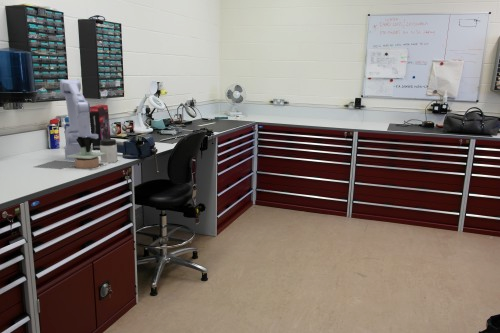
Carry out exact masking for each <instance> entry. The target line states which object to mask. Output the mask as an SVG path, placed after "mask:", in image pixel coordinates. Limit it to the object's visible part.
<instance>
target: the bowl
mask: <svg viewBox="0 0 500 333" xmlns="http://www.w3.org/2000/svg"><path fill="white" fill-rule="evenodd" d="M99 159H100V158H99V156H98V157H95V158H92V159H84V158H75V160H74V162H75V165H74V167H75V168H76V169H77V168H79V169H80V168H81V169H90V168H91V169H95V168H97V167H100V160H99Z"/></svg>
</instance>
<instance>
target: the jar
mask: <svg viewBox="0 0 500 333" xmlns="http://www.w3.org/2000/svg"><path fill="white" fill-rule="evenodd" d="M99 151H100V152H99V153H106V154H105V155H102V156H100V162H101V163H107V164H113V163H117V162H118V147H117V140H116V139H114V138H111V139H103V140H100V150H99Z"/></svg>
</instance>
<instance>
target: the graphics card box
mask: <svg viewBox="0 0 500 333" xmlns="http://www.w3.org/2000/svg"><path fill="white" fill-rule="evenodd" d="M88 113H89V112H88ZM89 120H90V132H91V134H98V137H99V138H97V139H95V138H94V140H93V142H92V144H91V148H92V150H94V151H100V140H103V139H112V138H111V128H110V125H111V124H110V116H109V105H108V104H98V105H97V104H96V105H92V106H91V105H90V113H89Z"/></svg>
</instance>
